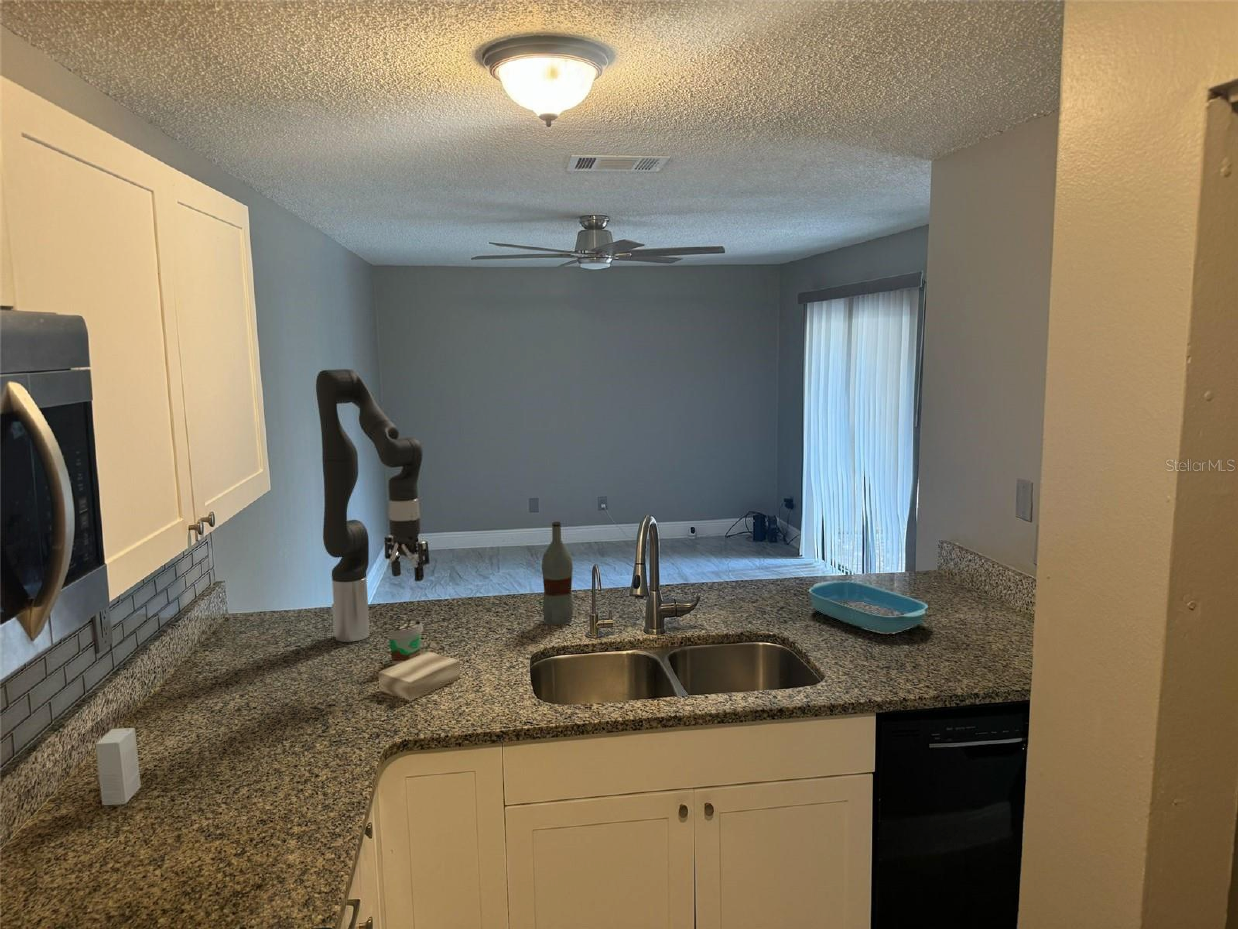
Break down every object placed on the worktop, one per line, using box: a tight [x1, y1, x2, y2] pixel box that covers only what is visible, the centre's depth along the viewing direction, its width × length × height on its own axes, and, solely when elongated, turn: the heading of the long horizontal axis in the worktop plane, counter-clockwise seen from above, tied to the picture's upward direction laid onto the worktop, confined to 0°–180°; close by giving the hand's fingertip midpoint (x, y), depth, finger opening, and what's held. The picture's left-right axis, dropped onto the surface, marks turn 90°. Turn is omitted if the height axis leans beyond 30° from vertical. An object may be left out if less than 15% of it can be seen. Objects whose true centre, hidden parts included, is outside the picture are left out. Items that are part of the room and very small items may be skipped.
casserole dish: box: [808, 580, 929, 632], centre depth 249 cm, size 37×22×7 cm, turn 34°
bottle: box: [541, 521, 574, 626], centre depth 247 cm, size 9×9×30 cm
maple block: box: [377, 651, 461, 702], centre depth 203 cm, size 11×16×5 cm
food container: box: [387, 616, 424, 667], centre depth 218 cm, size 12×6×10 cm, turn 168°
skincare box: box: [95, 727, 142, 806], centre depth 153 cm, size 6×4×12 cm
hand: (407, 578), depth 215 cm, fingers open, 8 cm apart
